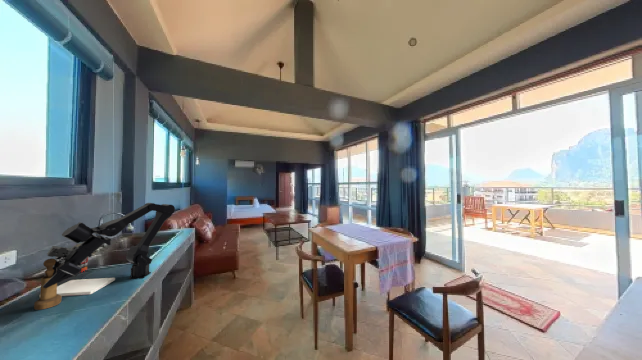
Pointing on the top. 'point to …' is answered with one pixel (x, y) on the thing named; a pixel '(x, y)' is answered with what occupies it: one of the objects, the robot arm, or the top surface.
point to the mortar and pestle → (48, 289)
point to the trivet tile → (82, 286)
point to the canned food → (84, 265)
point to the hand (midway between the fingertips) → (43, 284)
